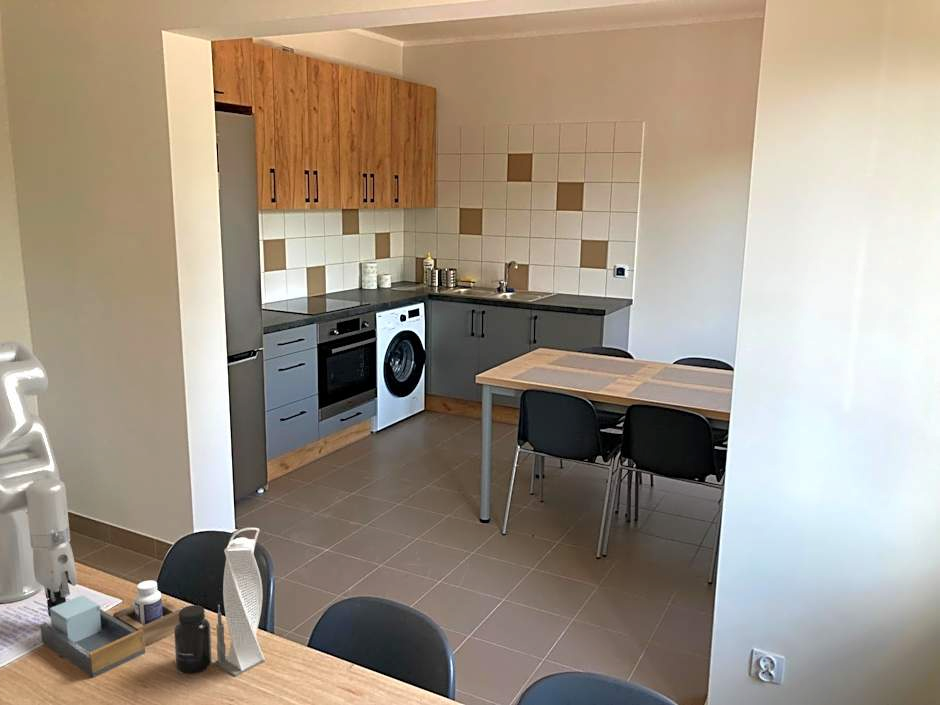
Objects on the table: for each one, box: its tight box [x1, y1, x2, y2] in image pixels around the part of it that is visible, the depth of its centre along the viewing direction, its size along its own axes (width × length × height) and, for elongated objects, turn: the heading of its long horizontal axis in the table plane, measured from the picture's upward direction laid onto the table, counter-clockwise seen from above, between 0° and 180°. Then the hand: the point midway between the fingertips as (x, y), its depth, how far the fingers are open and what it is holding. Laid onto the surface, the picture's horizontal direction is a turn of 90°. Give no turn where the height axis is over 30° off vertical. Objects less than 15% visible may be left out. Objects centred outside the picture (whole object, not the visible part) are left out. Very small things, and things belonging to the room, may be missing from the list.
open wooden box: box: [112, 599, 181, 648], centre depth 169 cm, size 14×10×4 cm
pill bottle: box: [134, 579, 163, 625], centre depth 167 cm, size 5×5×10 cm
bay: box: [39, 608, 146, 678], centre depth 161 cm, size 21×11×5 cm, turn 53°
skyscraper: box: [215, 527, 266, 677], centre depth 154 cm, size 8×8×28 cm
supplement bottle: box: [173, 604, 213, 675], centre depth 154 cm, size 7×7×12 cm
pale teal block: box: [49, 595, 101, 642], centre depth 164 cm, size 7×7×6 cm
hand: (57, 614), depth 169 cm, fingers closed
